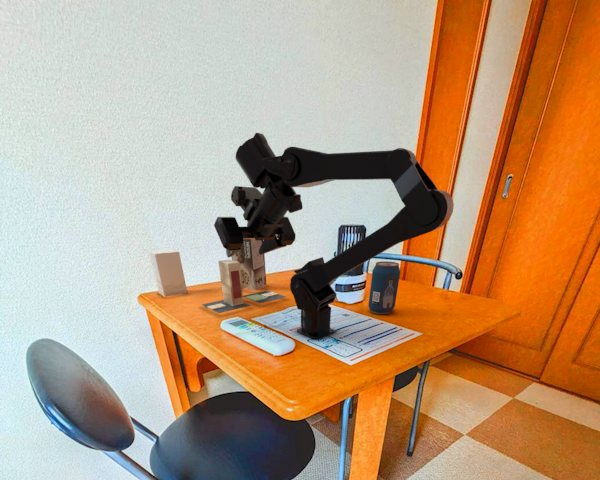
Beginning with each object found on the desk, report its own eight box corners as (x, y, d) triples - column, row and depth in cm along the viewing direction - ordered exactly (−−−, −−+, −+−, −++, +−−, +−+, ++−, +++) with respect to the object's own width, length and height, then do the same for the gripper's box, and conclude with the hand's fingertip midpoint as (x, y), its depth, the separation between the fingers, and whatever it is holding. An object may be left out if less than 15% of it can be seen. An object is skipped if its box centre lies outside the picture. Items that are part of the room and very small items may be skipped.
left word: (251, 308, 87) (250, 304, 86) (219, 316, 82) (218, 311, 81) (232, 301, 93) (232, 296, 93) (201, 308, 88) (201, 303, 87)
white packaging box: (188, 294, 100) (179, 251, 93) (164, 298, 96) (153, 253, 89) (181, 290, 105) (172, 248, 98) (158, 293, 101) (147, 250, 94)
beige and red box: (244, 304, 88) (239, 262, 81) (233, 306, 86) (228, 263, 80) (234, 300, 91) (229, 259, 85) (223, 302, 89) (218, 261, 83)
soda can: (377, 305, 89) (383, 260, 82) (398, 310, 84) (406, 263, 78) (362, 310, 85) (367, 263, 78) (384, 316, 80) (392, 267, 74)
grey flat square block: (287, 300, 94) (287, 295, 93) (260, 306, 89) (259, 302, 88) (267, 293, 100) (267, 289, 100) (241, 299, 95) (240, 295, 94)
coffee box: (267, 289, 105) (264, 235, 96) (255, 293, 101) (250, 237, 92) (247, 285, 109) (242, 233, 100) (234, 289, 105) (228, 235, 96)
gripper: (291, 175, 69) (262, 223, 82) (214, 168, 58) (195, 225, 71) (311, 221, 69) (279, 262, 82) (238, 222, 58) (214, 269, 71)
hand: (244, 254), depth 77 cm, fingers open, 9 cm apart
